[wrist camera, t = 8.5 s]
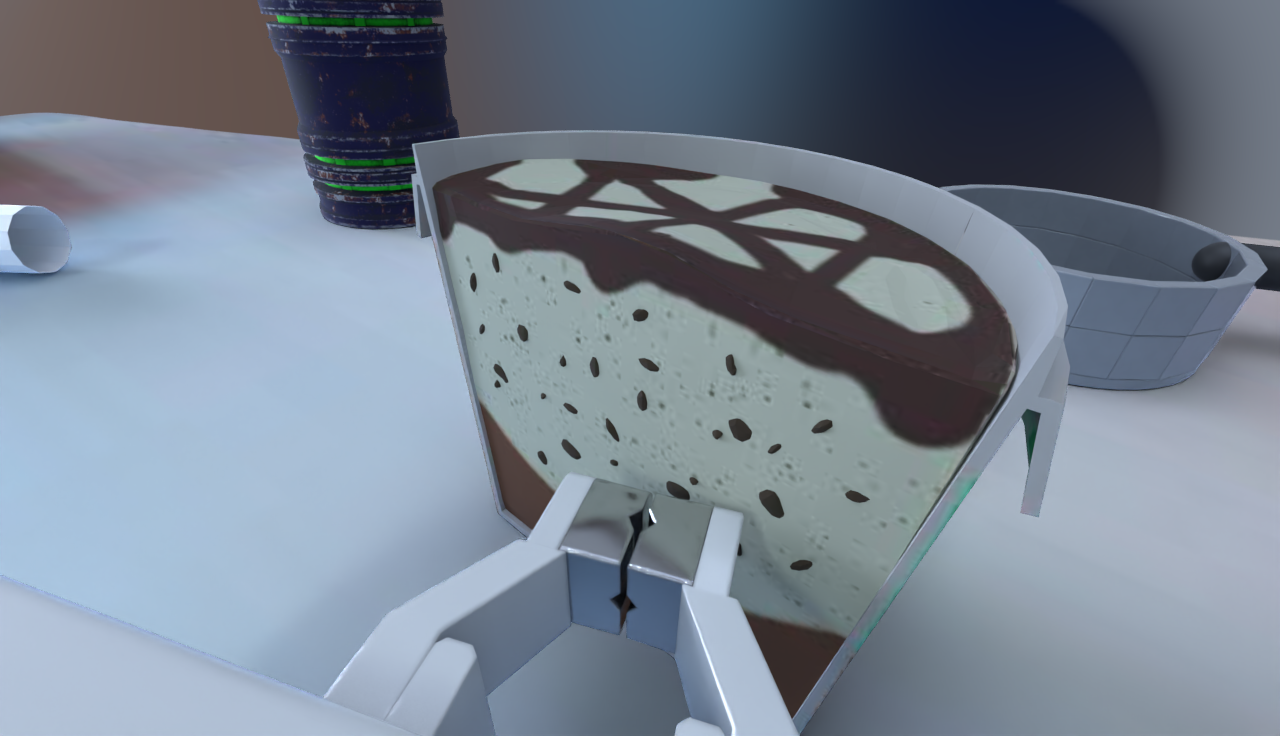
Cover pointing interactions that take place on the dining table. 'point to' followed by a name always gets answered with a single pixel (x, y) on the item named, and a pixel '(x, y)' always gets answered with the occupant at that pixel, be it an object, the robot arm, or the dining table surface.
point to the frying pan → (32, 240)
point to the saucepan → (1127, 282)
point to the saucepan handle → (1217, 258)
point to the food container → (746, 353)
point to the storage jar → (364, 99)
